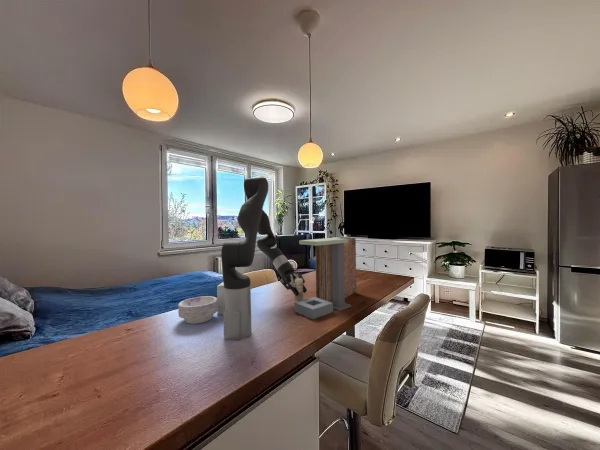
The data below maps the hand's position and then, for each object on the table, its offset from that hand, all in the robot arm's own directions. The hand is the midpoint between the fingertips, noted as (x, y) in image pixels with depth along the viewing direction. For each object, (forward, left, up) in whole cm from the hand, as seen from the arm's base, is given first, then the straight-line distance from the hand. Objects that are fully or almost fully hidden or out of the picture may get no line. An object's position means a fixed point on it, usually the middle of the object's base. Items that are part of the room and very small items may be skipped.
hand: (301, 293), depth 119 cm
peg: (+1, +2, -5) cm, 6 cm away
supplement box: (-15, +31, -6) cm, 35 cm away
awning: (-5, -13, -5) cm, 15 cm away
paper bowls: (-26, +38, -6) cm, 46 cm away
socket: (-8, -7, -5) cm, 12 cm away
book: (+15, -15, -5) cm, 22 cm away
